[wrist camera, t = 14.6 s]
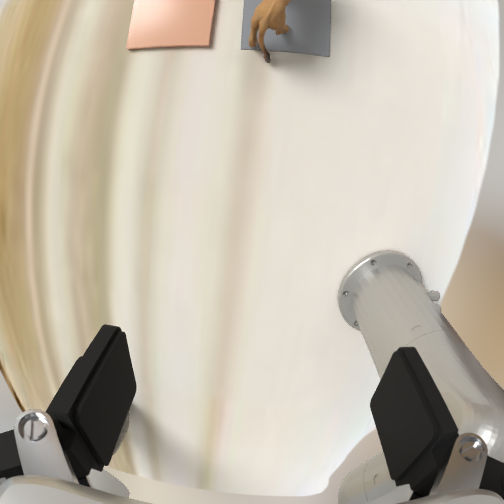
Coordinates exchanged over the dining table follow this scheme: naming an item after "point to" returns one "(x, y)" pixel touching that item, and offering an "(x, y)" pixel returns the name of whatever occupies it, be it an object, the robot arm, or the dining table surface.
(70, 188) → the dining table surface
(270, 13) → the lion figurine
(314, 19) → the slate tile
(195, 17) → the terracotta tile
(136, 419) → the dining table surface
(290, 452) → the dining table surface
